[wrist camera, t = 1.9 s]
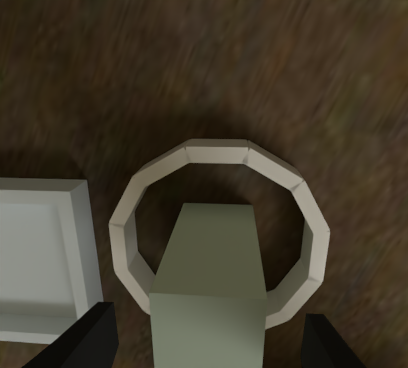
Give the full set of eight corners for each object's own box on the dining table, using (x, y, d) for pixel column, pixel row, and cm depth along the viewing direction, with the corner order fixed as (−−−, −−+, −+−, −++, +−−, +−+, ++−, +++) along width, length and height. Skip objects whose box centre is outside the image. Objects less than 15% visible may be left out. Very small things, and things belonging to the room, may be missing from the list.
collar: (329, 140, 16) (342, 148, 14) (306, 318, 20) (314, 343, 18) (114, 137, 17) (99, 145, 15) (131, 307, 21) (121, 330, 19)
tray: (86, 179, 18) (70, 191, 16) (106, 323, 22) (94, 347, 20) (-80, 175, 19) (-114, 186, 17) (-35, 314, 22) (-59, 336, 21)
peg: (252, 205, 18) (267, 299, 10) (249, 264, 19) (260, 387, 11) (183, 202, 18) (149, 292, 11) (185, 261, 19) (155, 379, 12)
